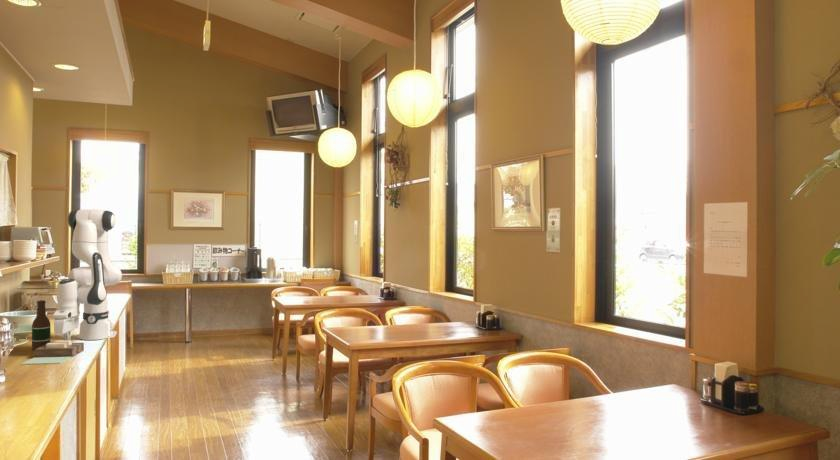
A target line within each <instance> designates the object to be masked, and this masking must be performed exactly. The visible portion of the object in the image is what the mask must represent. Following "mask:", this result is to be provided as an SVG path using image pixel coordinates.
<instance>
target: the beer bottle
mask: <svg viewBox="0 0 840 460" xmlns="http://www.w3.org/2000/svg"><path fill="white" fill-rule="evenodd" d="M46 302H47V301H46V300H43V299H42V300H37V301H36V304H37V306H36V309H37V310H36V317H35V318H34V320H33V322H32V324H31V348H32V350H33V351H35V349H37V348H39V347H41V346H44V345H46V344H48V343H50V342H51V321H50V319H49V318H48V317H47V312H46V311H47V310H46Z"/></svg>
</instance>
